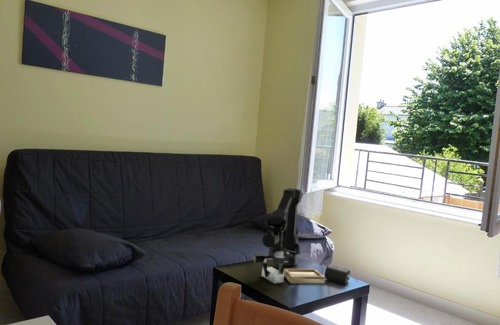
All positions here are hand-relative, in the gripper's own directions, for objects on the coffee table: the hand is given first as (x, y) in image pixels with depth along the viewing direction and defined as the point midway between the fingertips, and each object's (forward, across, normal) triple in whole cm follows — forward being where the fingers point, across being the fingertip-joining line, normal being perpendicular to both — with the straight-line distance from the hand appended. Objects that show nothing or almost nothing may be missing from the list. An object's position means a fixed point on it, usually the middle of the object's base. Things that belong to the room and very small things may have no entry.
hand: (272, 276), depth 177 cm
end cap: (+1, +30, -4) cm, 30 cm away
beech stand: (+1, +15, 0) cm, 15 cm away
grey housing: (+1, 0, 0) cm, 1 cm away
